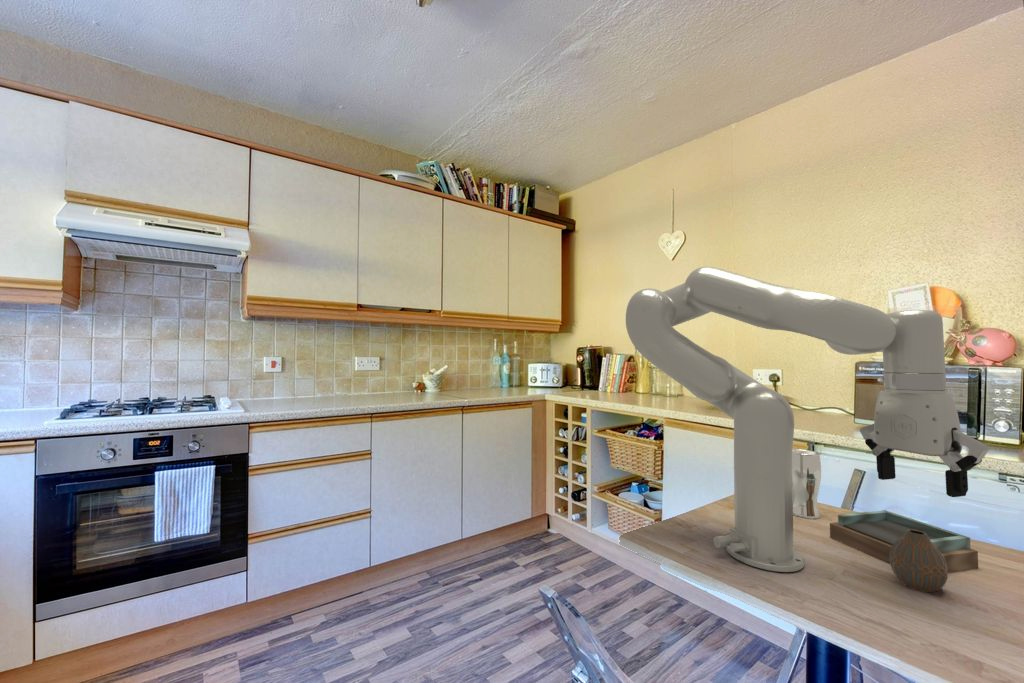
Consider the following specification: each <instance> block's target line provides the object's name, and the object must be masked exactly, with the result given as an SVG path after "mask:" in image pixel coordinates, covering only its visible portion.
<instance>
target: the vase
mask: <svg viewBox="0 0 1024 683" xmlns="http://www.w3.org/2000/svg"><path fill="white" fill-rule="evenodd" d="M889 557H890V563H889V564H890V567H891V569H892V572H893V574H894V575H895V576H896V578H897V579H898V580H899V581H900V582H901V583H902V584H903V585H905V586H907V587H909V588H911V589H913V590H916V591H921V592H925V593H935V592H937V591H939V590H941V589H943V587H945V585H946V582H948V581H947V580H948V575H949V573H948V568H947V564H946V561H945V559H944V557H943V555H942V554H941V552H940V551H939V550H938V549H937V547H936V546H935V545H934V544H933V543H932V542H931V541H930V539H929V537H928V535H927V534H926V533H924V532H922V531H919V530H914V529H908V530H907V531H906V532H905V534H904V535H903V536H901V537H900V538H899V539H898V540H896V541H895V542H894V543H893V545H892V547H891V549H890V555H889Z"/></svg>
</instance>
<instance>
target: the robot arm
mask: <svg viewBox="0 0 1024 683" xmlns="http://www.w3.org/2000/svg"><path fill="white" fill-rule="evenodd" d="M709 313H715V314H718V315H721V316H725V317H728V318H731V319H733V320H736V321H739V322H743V323H745V324H748V325H752V326H753V327H757V328H761V329H765V330H770V331H771V330H773V331H783V332H784V331H785V332H791V333H796V334H800V335H805V336H808V337H811V338H815V339H817V340H821V341H825V343H826V344H827V346H829V348H830V349H832V350H833V351H834V352H835V351H836V352H837V353H839V354H843V355H844V354H845V355H848V356H849V355H855V356H856V355H865V354H866V355H867V354H875V353H880V352H881V353H882V363H883V373H882V374H883V375H879V376H878V377H877V383H879V384H883V388H884V390H879V391H878V394H877V399H876V403H875V408H874V420H873V422H874V423H871V424H869V425H867V426H864V427H861V428H860V429H859V432H860V434H861V436H862V438H863V439H864V441H865V442H864V443H865V446H867V447H868V448H869V449H870V450H871V454H872V455H873V456H875V457H876V459H875V460H876V472H877V478H878V479H879V480H881V481H886V480H894V479H896V477H897V476H896V458H895V455H891V454H893V452H894V451H898V452H906V453H912V454H917V455H922V456H929V457H939V459H941V461H942V462H943V463H944V464H945V465H946V466H947V467H948V468H949V469H946V470H945V476H944V477H945V490H946V491H945V493H946V496H948V497H950V498H960V497H965V496H966V495H967V493H968V491H969V480H968V477H969V476H968V471H971V470H972V469H974V467H976V466H978V465H979V464H981V463H982V462H983V459H984V458H985V456H986V455H987V454H988V452H989V451H990V447H989V445H987V444H986V443H983V442H982V441H979V440H977V439H975V438H974V437H972V436H971V435H968V434H967V433H964V432H962V429H961V423H960V418H959V413H958V410H957V407H956V403H955V401H954V398H953V395H952V393H947V392H948V391H947V377H946V375H947V374H946V355H945V339H944V336H945V335H944V322H943V317H942V315H941V313H940V312H938V311H935V310H931V309H930V310H929V309H915V310H914V309H913V310H912V309H911V310H902V311H901V310H900V311H894V312H889V313H886V312H884V311H883V310H880V309H877V308H875V307H872V306H869V305H865V304H863V303H858V302H855V301H851V300H848V299H844V298H840V297H837V296H832V295H829V294H825V293H821V292H815V291H809V290H804V289H803V290H802V289H800V288H799V289H798V288H794V287H788V286H783V285H779V284H775V283H771V282H767V281H764V280H760V279H757V278H754V277H753V278H752V277H749V276H746V275H743V274H739V273H737V272H733V271H728V270H725V269H722V268H718V267H713V266H700V267H698V268H695V269H694V270H693V271H691V272H690V273H689V275H687V278H686V279H685V282H684V283H682V284H679V285H676V286H675V287H672V288H669V289H666V290H664V291H661V290H659V289H656V288H643V289H640V290H638V291H636V292H635V293H634V294H633V295H632V296H631V297H630V299H629V301H628V303H627V307H626V312H625V328H626V332H627V334H628V337H629V339H630V340H629V341H630V342H631V343H632V345H633V347H634V348H635V349H636V350H637V351H638V353H639V354H640V355H641V356H642V357H644V358H645V359H646V360H647V361H649V362H650V363H651V364H652V365H653V366H655V367H656V368H658V369H659V370H661V372H663V373H664V374H666V375H667V376H669V377H670V378H671V379H673V380H674V381H675V382H677V383H678V384H680V385H681V386H682V387H684V388H685V389H686V390H688V391H689V392H690V393H691V394H692V395H693V396H695V397H696V398H697V399H700V400H702V401H705V402H708V403H709V404H711V405H712V406H713V407H715V408H716V409H718V410H719V411H721V412H723V413H724V414H725V415H727V416H729V417H730V418H731V419H732V420H733V473H734V474H733V477H734V478H733V479H734V480H733V483H734V484H733V486H734V487H733V488H734V490H733V491H734V492H733V496H734V498H733V500H734V505H733V506H734V510H733V511H734V526H733V527H729V533H727V534H726V535H717V536H714V537H713V538H712V541H713V544H714V546H715V547H716V548H725V550H726V552H727V553H728V554H729V555H730V556H732V557H733V558H734V559H736V560H737V561H739V562H742V563H744V564H746V565H749V566H750V567H755V568H757V569H761V570H766V571H771V572H776V573H792V572H798V571H800V570H801V569H803V568H804V567H805V558H804V556H803V555H802V554H801V553H800V552H799V551H797V550H796V549H794V515H793V476H792V449H794V448H793V447H794V446H793V445H794V435H795V416H794V410H793V409H792V406H791V404H790V402H789V401H788V399H786V397H785V396H784V395H782V393H780V392H778V391H776V390H774V389H772V388H769V387H767V386H766V385H764V384H763V383H761V382H759V381H757V380H756V379H755V378H753V377H751V376H750V375H748V374H746V373H745V372H743V371H742V370H741V369H740V368H738V367H736V366H734V365H733V364H731V363H729V361H727V360H726V359H724V358H722V357H721V356H718V355H715V354H713V353H711V352H710V351H708V350H707V349H705V348H703V347H701V346H700V345H698V344H696V343H695V342H694V341H692V340H691V339H690V338H688V337H686V336H685V335H684V334H682V333H680V332H679V331H677V330H676V328H674V327H675V326H679V325H680V324H683V323H686V322H689V321H691V320H695V319H697V318H700V317H703V316H705V315H707V314H709ZM963 446H965V447H967V448H968V449H969V451H968V454H967V455H965V456H963V455H962V450H963Z"/></svg>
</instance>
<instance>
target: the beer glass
mask: <svg viewBox="0 0 1024 683" xmlns="http://www.w3.org/2000/svg"><path fill="white" fill-rule="evenodd" d="M820 454H821V453H820V452H818V451H814V450H808V449H802V448H793V449H792V476H793V516H795V515H796V516H795V517H798V516H799V518H802V517H803V518H802V519H808V518H809V519H810V520H816V519H819V518H820V512H819V509H818V508H819V506H818V495H819V492H820V487H821V481H822V465H821V455H820Z"/></svg>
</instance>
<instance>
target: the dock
mask: <svg viewBox="0 0 1024 683" xmlns="http://www.w3.org/2000/svg"><path fill="white" fill-rule="evenodd" d="M837 519H838V520H837V522H830V523H829V538H830V539H832V540H834V541H837V542H839V543H842V544H845V545H846V546H848V547H852V548H853V549H855V550H858V551H861V552H863V553H865V554H868V555H871V556H872V557H874V558H877V559H879V560H881V561H884V562H886V563H889V564H890V557H889V555H890V549H891V547H892V545H893V543H894V542H895V541H896V540H898V539H899V538H900V537H901V536H903V535H904V534H905V532H906V531H907V530H908V529H914V530H919V531H922V532H924V533H926V534H927V535H928V537H929V539H930V541H931V542H932V543H933V544H934V545H935V546H936V547H937V549H938V550H939V551H940V552H941V554H942V555H943V557H944V559H945V561H946V564H947V568H948V574H949V573H957V572H961V571H968V569H969V570H975V569H974V568H976V569H978V568H979V552H978V550H975V549H972V548H971V537H969V536H966V535H963V534H961V533H957V532H954V531H950V530H948V529H945V528H941V527H938V526H935V525H932V524H930V523H925V522H923V521H920V520H916V519H913V518H911V517H907V516H904V515H901V514H898V513H894V512H892V511H888V510H886V509H885V510H875V511H874V510H873V511H863V512H862V511H861V512H853V513H844V514H843V513H842V514H838V515H837Z"/></svg>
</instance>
